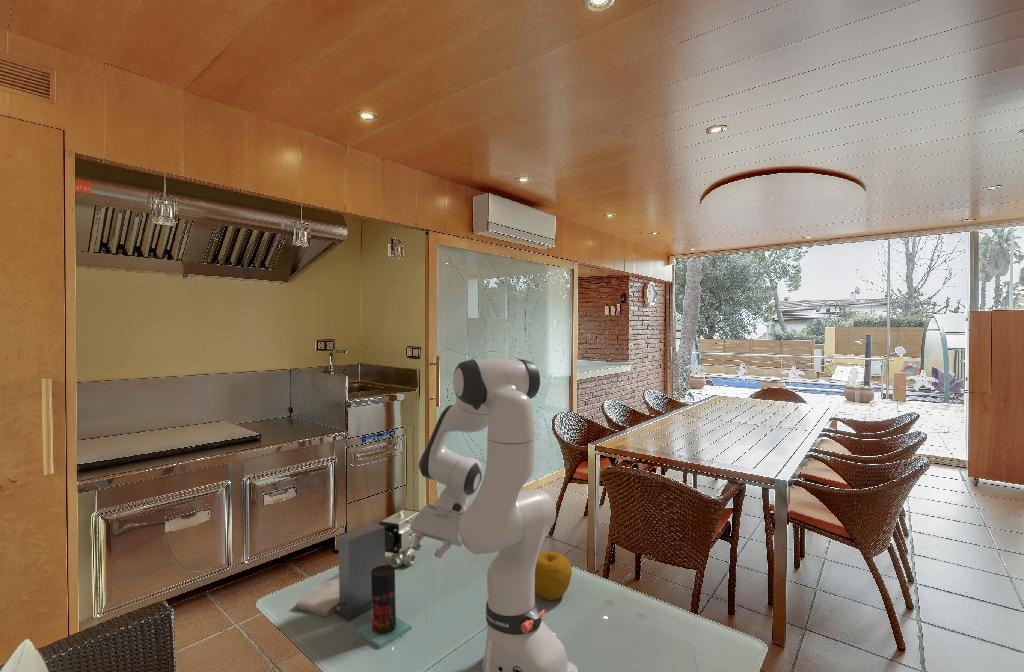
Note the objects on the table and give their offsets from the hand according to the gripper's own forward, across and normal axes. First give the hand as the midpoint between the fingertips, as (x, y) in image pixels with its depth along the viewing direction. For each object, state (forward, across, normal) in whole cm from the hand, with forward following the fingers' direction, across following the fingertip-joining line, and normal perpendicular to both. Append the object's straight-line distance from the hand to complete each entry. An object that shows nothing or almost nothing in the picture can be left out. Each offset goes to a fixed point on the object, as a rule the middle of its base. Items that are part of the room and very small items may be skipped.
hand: (425, 553), depth 136 cm
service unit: (+18, -17, +4) cm, 25 cm away
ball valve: (0, -29, +21) cm, 36 cm away
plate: (+21, -2, +2) cm, 21 cm away
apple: (-8, +23, +31) cm, 40 cm away
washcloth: (+20, -28, +3) cm, 34 cm away
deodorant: (+20, -2, +1) cm, 20 cm away
